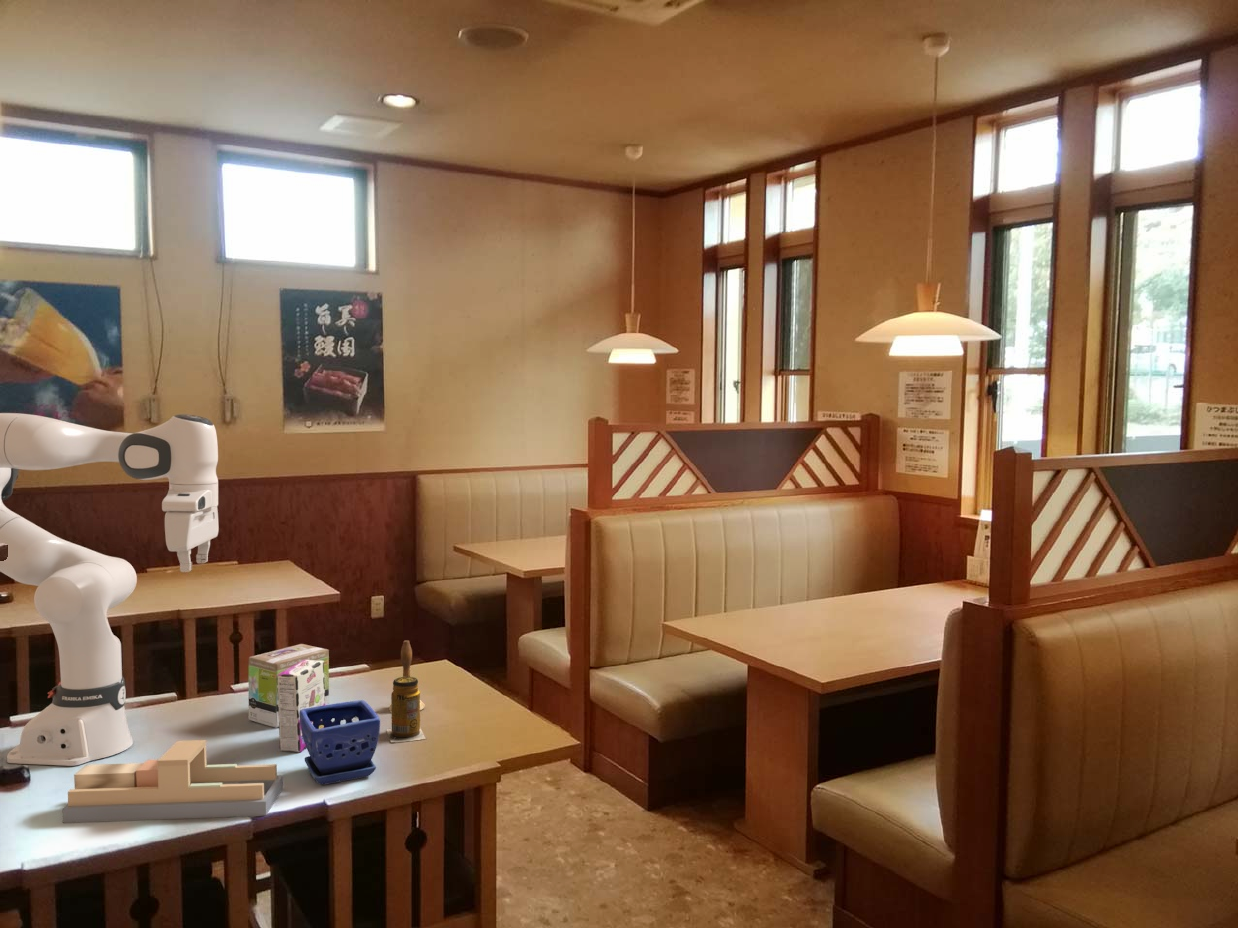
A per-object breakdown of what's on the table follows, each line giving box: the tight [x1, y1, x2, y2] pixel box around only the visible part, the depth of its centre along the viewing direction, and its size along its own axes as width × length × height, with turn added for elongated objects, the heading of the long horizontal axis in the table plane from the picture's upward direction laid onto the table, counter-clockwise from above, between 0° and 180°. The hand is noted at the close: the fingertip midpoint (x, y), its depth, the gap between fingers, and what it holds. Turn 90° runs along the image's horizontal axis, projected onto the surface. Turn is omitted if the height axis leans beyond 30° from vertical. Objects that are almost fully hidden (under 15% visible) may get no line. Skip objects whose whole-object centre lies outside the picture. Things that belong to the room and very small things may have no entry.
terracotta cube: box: [136, 758, 160, 787], centre depth 170 cm, size 5×5×5 cm
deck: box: [61, 739, 284, 824], centre depth 170 cm, size 34×12×10 cm, turn 95°
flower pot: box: [299, 699, 381, 785], centre depth 185 cm, size 13×13×12 cm
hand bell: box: [388, 639, 426, 712], centre depth 223 cm, size 8×8×16 cm
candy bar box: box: [277, 660, 325, 753], centre depth 200 cm, size 11×5×16 cm, turn 168°
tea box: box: [248, 643, 330, 729], centre depth 218 cm, size 15×10×15 cm
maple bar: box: [73, 762, 145, 789], centre depth 169 cm, size 10×4×4 cm, turn 95°
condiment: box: [386, 676, 427, 743], centre depth 205 cm, size 7×8×12 cm
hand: (194, 567), depth 188 cm, fingers open, 8 cm apart
